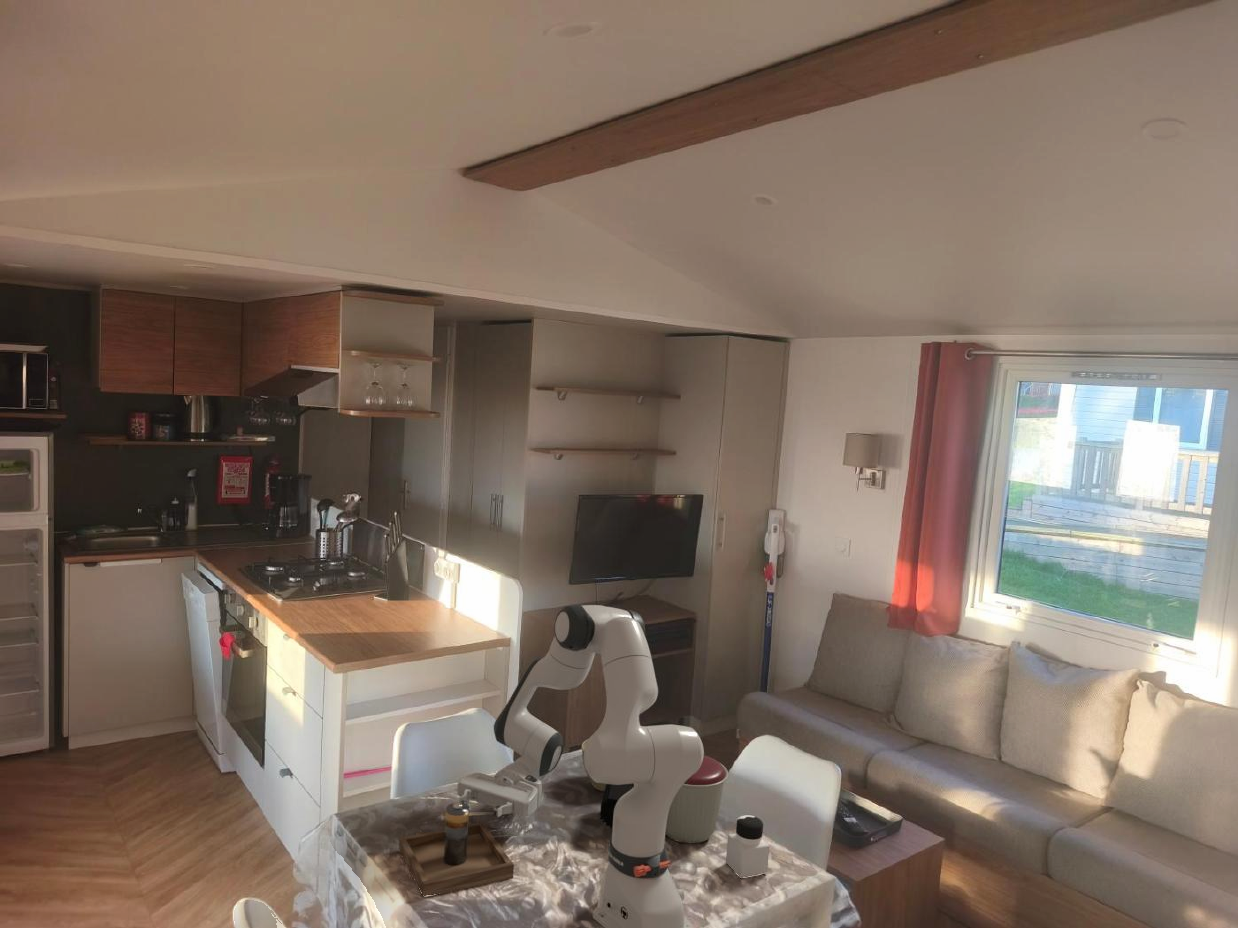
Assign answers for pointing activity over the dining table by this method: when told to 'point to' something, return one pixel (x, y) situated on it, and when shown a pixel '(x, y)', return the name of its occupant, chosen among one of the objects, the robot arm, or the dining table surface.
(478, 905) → the dining table surface
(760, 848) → the medicine bottle
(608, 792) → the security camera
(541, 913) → the dining table surface
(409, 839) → the tray
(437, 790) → the dining table surface
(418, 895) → the dining table surface
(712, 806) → the canister
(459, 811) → the cell
